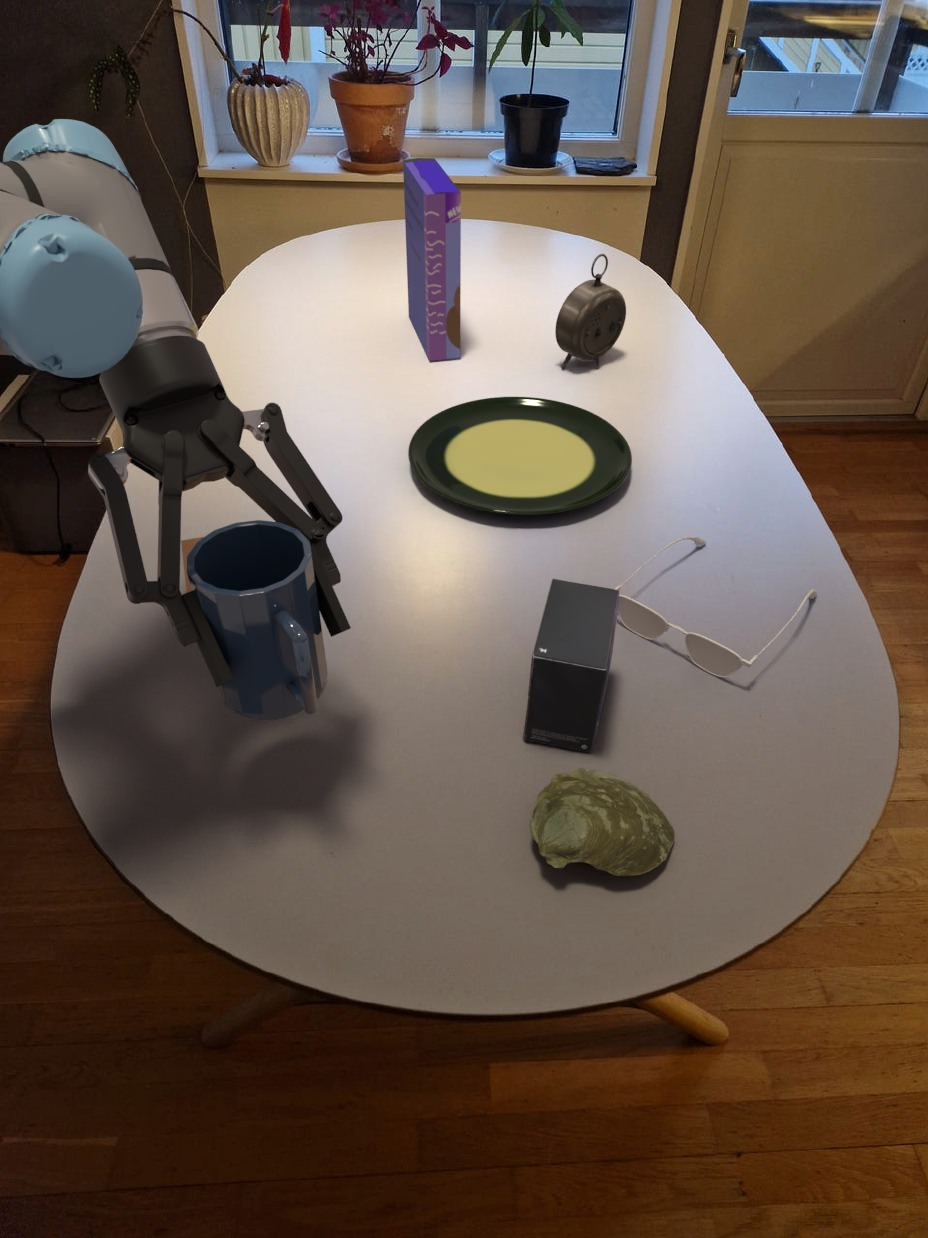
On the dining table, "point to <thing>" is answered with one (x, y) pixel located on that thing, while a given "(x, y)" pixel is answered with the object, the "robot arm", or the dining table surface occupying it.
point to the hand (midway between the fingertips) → (284, 656)
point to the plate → (519, 455)
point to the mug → (262, 616)
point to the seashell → (600, 824)
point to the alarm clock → (590, 319)
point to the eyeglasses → (698, 646)
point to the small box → (571, 665)
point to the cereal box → (433, 257)
